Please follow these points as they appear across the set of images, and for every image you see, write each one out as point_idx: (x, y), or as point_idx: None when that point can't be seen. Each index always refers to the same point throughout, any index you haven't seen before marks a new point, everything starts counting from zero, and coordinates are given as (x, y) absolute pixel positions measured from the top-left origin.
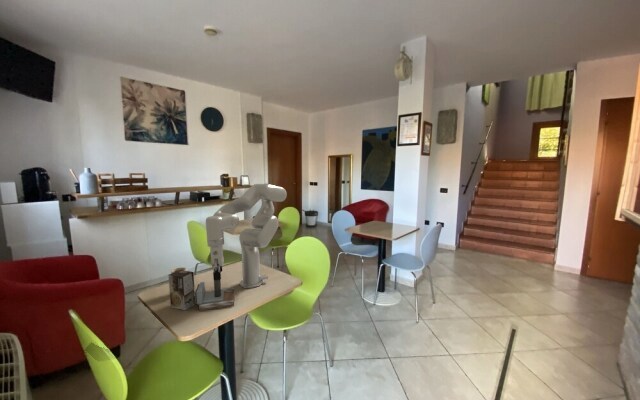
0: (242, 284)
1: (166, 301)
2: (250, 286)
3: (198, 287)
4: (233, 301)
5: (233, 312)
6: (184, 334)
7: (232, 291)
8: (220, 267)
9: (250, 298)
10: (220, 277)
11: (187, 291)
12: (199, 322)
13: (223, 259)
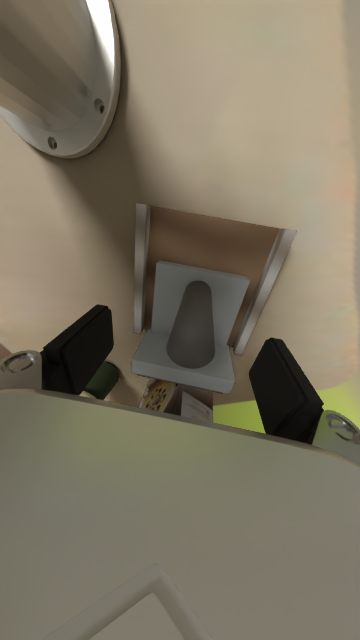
0: (78, 138)
1: (140, 393)
2: (116, 71)
3: (185, 383)
4: (296, 231)
5: (341, 239)
6: (342, 381)
7: (150, 217)
8: (90, 339)
9: (260, 110)
10: (287, 351)
11: (203, 411)
12: (310, 349)
13: (85, 492)
